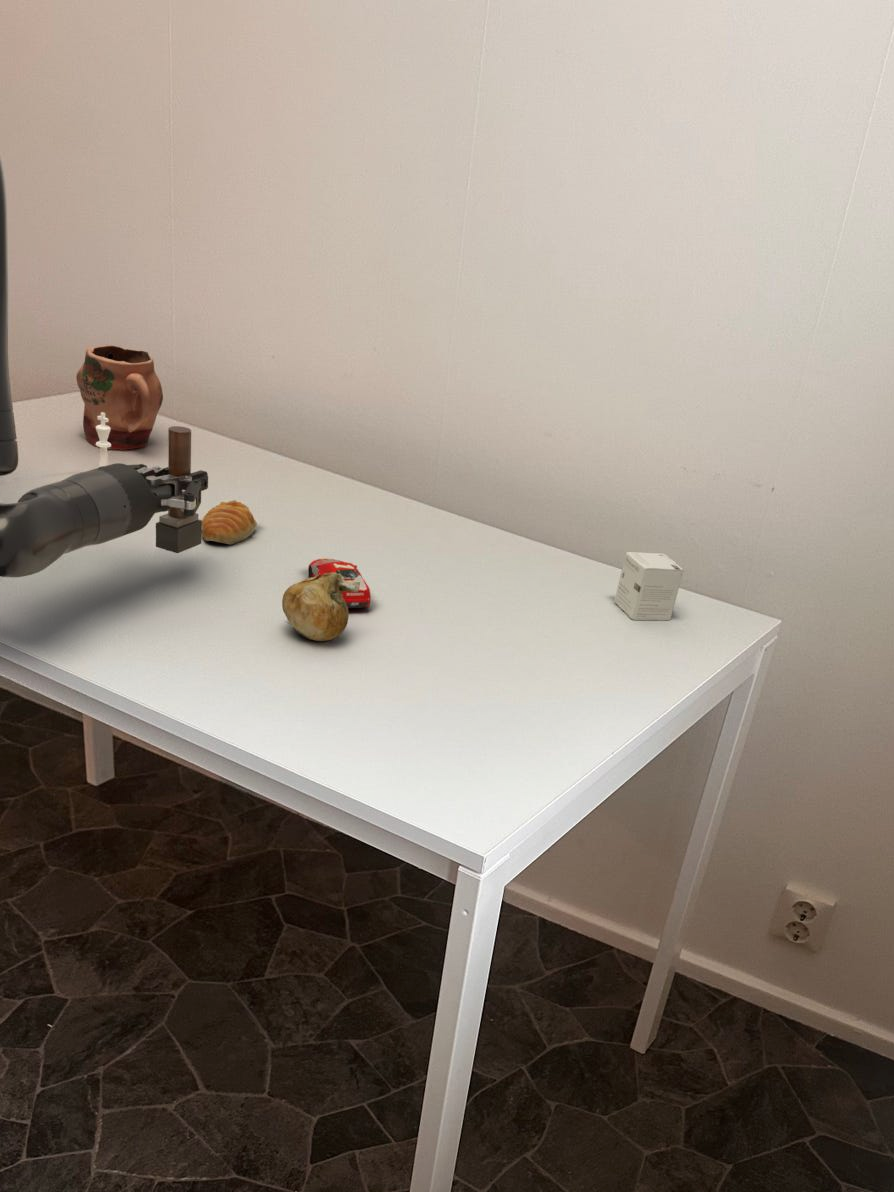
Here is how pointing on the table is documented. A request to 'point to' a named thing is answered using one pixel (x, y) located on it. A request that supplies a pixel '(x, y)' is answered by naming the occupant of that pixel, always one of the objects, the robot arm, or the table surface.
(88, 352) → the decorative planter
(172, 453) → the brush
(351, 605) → the race car
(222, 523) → the pastry
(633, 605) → the product carton
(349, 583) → the onion
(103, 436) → the chess piece
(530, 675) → the table surface
